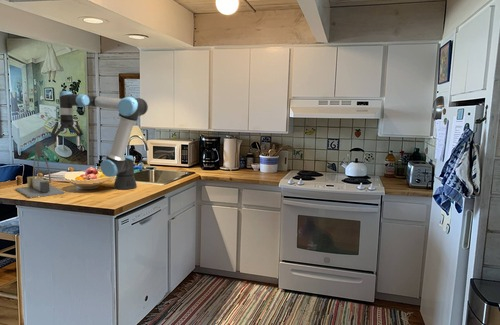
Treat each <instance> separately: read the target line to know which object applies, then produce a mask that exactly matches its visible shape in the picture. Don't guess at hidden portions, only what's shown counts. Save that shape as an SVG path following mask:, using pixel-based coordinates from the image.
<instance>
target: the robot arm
mask: <svg viewBox="0 0 500 325" xmlns="http://www.w3.org/2000/svg"><path fill="white" fill-rule="evenodd" d="M58 98H59V110H60V111H59V113H60V116H59V118H60V121H55V122H54V127H53V129H52V130H51V132H50V136H51V137H53V141H54V142H55V147H57V148H58V147H59V137H58V135H59V134H60V133H61V132H62V131H63V130H64V129H71V130H72V131H73V132H74V134H76V146H78V147H80V141H81V140H82V139H81V136H83V135H84V133H83V131H82V129H81V128H80V126H79V122H78V121H74V116H73V112H74V111H73V107H74V106H75V107H91V108H93V107H94V108H102V109H110V110H117V111H118V117H119V122H118V125H117V127H116V128H117V129H116V133H115V136H114V140H113V143H112V146H111V148H110V152H108V153H107V154H106V157H105V159H104V160H102V161H101V163H100V171H101V173H102V174H103V175H104V176H105V177H108V178H113V177H116V178H115V181H114V183H113V188H114V189H116V190H120V191H121V190H124V191H126V190H133V189H136V188H137V187H138V185H137V182H136V179H135V178H136V177H135V158H134V156H133V155H130V154H129V155H126V154H125V153H126V149H127V146H128V143H129V140H130V136H131V133H132V129H133V126H134V124H135V123H136V122H137V121H138V119H139V117H140V116H144V115H145V114H146V113H147V111H148V108H149V105H148V102H147V101H146V100H145V99H144V98H139V97H132V96H127V97H126V96H125V97H123V98H118V97H117V98H115V97H109V96H107V97H106V96H97V95H90V94H89V95H87V94H81V93H80V94H74V93H73V92H72V91H69V90H60V91H59V97H58ZM73 125H74V126H75V127H74V126H73ZM58 127H59V128H58Z"/></svg>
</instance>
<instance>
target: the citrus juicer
mask: <svg viewBox="0 0 500 325" xmlns="http://www.w3.org/2000/svg"><path fill="white" fill-rule="evenodd" d="M43 145H44V144H43V142H42V141H36V142H35V143H34V149H35V151H36V152H34V159H33V168H32V170H33V171H32V177H33V176H35V172H37V176H40V175H39V170H40V169H39V167H40V166H39V160H41V158H42V156H43V157H44V158H43V159H44V161H45V164H46V168H47V172H48V180H49V181H48V182H49V184H52V180H51V172H50V167H49V162H48V158H47V156H46V154H45V151H43V148H44V146H43ZM36 159H37V162H36ZM36 164H37V171H35V170H36V168H35V167H36Z"/></svg>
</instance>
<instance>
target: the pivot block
mask: <svg viewBox="0 0 500 325" xmlns="http://www.w3.org/2000/svg"><path fill="white" fill-rule="evenodd" d="M32 178H41V179H42V176H40V175H39V176H38V175H34V176H33V175H32V176H27V177H26V180H27V187H28V188H33V184H32Z"/></svg>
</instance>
